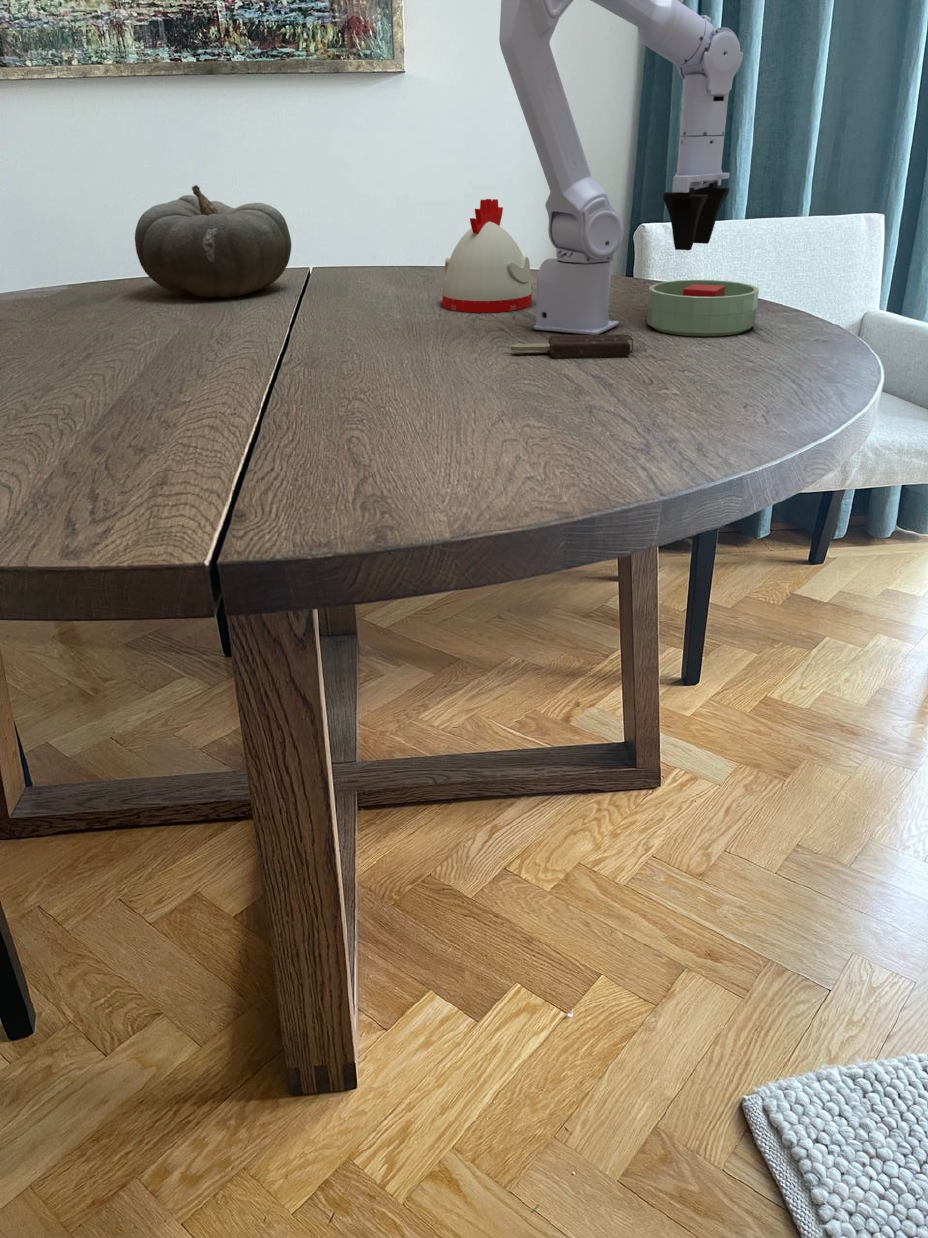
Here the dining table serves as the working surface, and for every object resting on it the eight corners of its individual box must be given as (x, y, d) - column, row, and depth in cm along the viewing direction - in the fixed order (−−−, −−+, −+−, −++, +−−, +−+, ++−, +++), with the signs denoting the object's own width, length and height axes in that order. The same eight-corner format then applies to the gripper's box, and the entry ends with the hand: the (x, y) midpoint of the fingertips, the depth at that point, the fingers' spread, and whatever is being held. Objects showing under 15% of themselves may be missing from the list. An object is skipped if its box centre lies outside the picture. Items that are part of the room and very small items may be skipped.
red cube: (680, 324, 126) (683, 288, 124) (690, 318, 129) (693, 283, 127) (711, 326, 124) (715, 290, 122) (721, 321, 127) (725, 285, 125)
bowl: (631, 331, 125) (633, 292, 122) (667, 313, 135) (670, 277, 133) (736, 341, 118) (741, 300, 116) (765, 321, 129) (770, 283, 127)
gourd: (177, 264, 173) (172, 162, 163) (307, 287, 172) (310, 187, 162) (116, 302, 153) (106, 189, 143) (263, 329, 151) (263, 217, 141)
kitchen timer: (547, 300, 147) (549, 196, 140) (503, 315, 137) (503, 204, 129) (472, 294, 153) (471, 194, 146) (425, 307, 143) (421, 201, 136)
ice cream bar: (511, 359, 112) (636, 356, 112) (511, 345, 111) (636, 342, 111) (509, 349, 117) (629, 346, 117) (510, 336, 116) (630, 333, 116)
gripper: (715, 136, 115) (703, 254, 121) (747, 133, 126) (736, 241, 132) (660, 137, 118) (652, 251, 125) (697, 134, 129) (688, 239, 135)
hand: (692, 246), depth 129 cm, fingers open, 7 cm apart
